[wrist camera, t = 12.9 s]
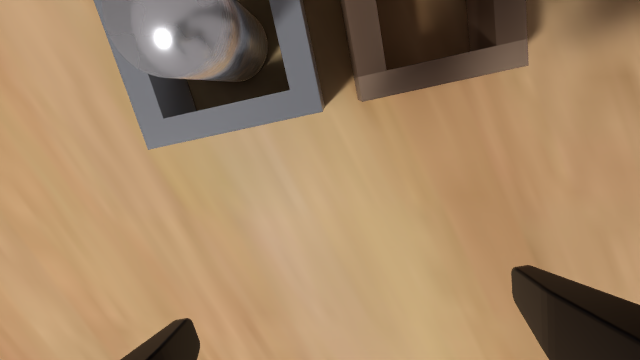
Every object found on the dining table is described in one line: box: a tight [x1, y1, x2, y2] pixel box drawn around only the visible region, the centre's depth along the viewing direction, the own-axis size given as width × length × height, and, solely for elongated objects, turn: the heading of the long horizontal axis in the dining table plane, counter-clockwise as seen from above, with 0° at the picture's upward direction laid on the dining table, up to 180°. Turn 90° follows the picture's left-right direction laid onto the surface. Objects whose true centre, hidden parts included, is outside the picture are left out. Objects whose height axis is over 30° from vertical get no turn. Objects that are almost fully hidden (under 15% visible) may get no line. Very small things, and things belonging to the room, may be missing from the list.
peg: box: [102, 0, 268, 82], centre depth 15 cm, size 4×4×8 cm
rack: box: [94, 0, 325, 150], centre depth 16 cm, size 9×12×4 cm
